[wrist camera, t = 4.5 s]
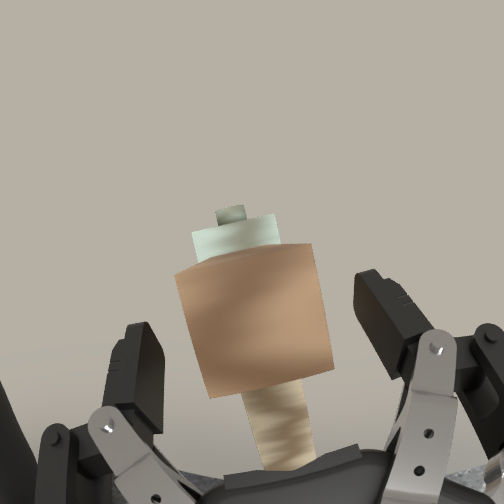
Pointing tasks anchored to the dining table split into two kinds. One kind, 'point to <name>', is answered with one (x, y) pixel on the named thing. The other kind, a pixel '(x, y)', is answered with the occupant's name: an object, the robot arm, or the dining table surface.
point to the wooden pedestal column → (280, 425)
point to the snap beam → (253, 306)
